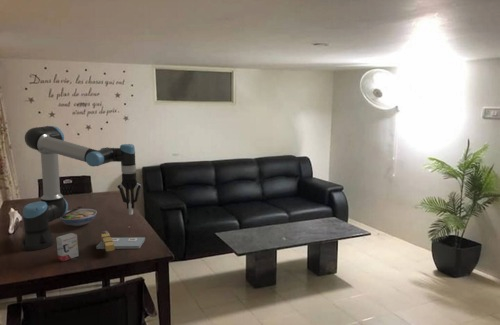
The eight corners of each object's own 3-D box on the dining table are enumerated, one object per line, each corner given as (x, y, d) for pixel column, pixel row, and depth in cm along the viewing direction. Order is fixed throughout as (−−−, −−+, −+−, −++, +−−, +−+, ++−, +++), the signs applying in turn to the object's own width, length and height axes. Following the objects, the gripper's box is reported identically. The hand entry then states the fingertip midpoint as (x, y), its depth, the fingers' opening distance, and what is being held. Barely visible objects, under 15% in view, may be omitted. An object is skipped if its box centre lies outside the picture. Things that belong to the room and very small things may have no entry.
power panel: (96, 249, 208) (96, 245, 207) (104, 240, 220) (104, 237, 220) (139, 248, 208) (139, 245, 208) (145, 239, 221) (144, 236, 221)
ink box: (63, 262, 191) (61, 239, 189) (57, 259, 194) (55, 237, 192) (79, 256, 198) (77, 234, 196) (73, 254, 201) (71, 232, 199)
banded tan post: (100, 239, 216) (100, 231, 215) (108, 237, 218) (108, 230, 217) (106, 252, 197) (105, 244, 196) (114, 251, 199) (114, 243, 198)
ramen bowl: (82, 232, 233) (81, 219, 232) (49, 229, 238) (48, 217, 237) (105, 219, 257) (105, 208, 256) (75, 217, 262) (74, 206, 261)
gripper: (142, 171, 214) (144, 212, 218) (118, 171, 214) (121, 212, 218) (139, 173, 207) (141, 216, 211) (114, 174, 207) (117, 216, 210)
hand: (131, 214), depth 214 cm, fingers closed
